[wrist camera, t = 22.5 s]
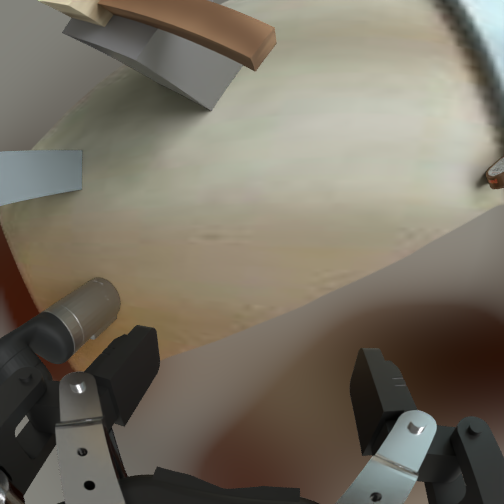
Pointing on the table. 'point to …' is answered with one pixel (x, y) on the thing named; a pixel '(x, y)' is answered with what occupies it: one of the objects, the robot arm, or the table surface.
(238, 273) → the table surface
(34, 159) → the tall plinth
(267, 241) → the table surface
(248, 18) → the brown wooden bar
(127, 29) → the grey tall block
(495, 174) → the tin
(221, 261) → the table surface
